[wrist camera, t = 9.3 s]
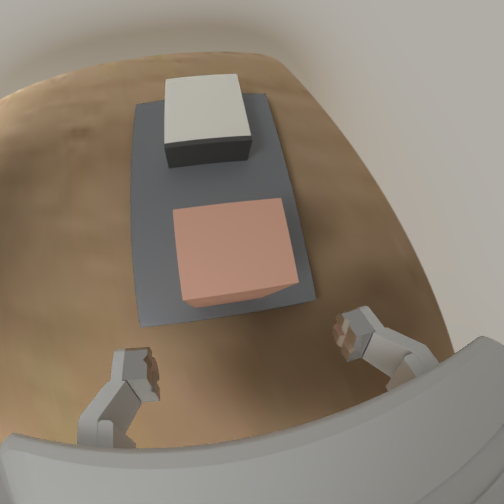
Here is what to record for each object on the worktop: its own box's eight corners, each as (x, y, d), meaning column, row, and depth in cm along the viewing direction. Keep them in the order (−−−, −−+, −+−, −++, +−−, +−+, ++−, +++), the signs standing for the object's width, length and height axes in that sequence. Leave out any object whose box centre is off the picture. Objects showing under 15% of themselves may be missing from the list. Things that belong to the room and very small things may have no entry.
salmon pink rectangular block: (195, 308, 19) (182, 300, 11) (188, 255, 20) (172, 209, 12) (261, 298, 20) (298, 282, 12) (252, 246, 21) (281, 197, 13)
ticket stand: (144, 327, 20) (128, 328, 16) (138, 113, 25) (130, 84, 20) (310, 301, 23) (332, 296, 18) (262, 102, 27) (271, 73, 23)
